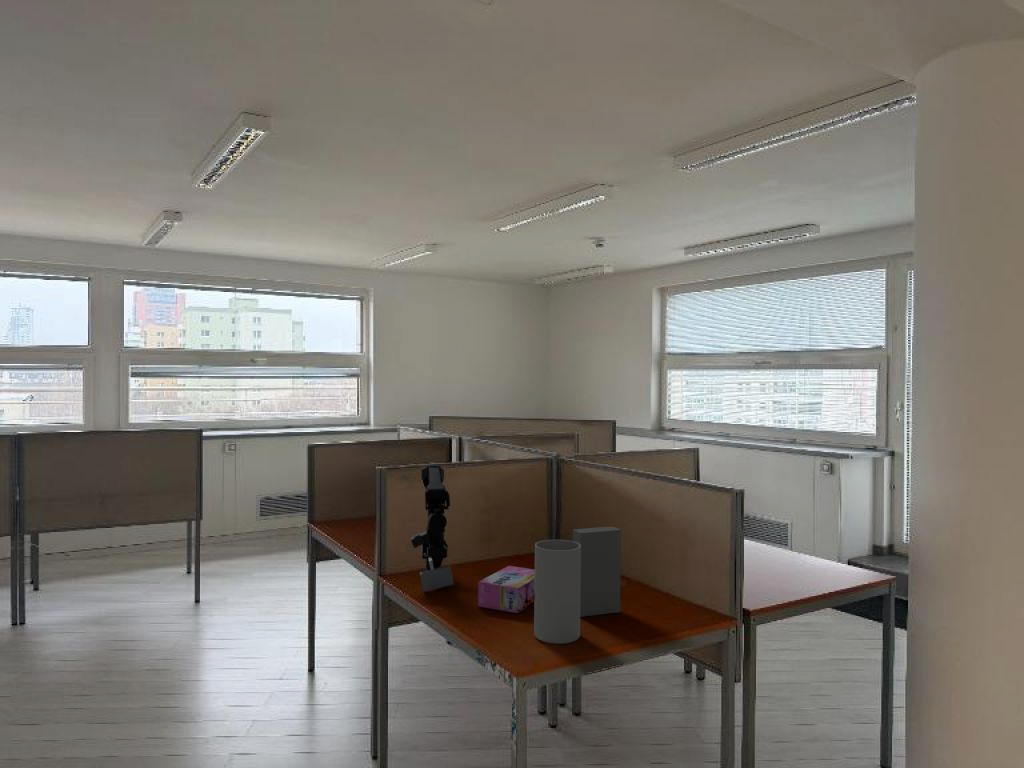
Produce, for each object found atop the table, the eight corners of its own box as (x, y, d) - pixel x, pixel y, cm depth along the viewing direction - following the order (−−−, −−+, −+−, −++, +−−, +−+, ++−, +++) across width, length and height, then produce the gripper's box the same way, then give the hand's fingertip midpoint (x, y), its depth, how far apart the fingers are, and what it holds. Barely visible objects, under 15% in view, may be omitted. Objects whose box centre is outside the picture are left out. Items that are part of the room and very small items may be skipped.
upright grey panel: (610, 606, 220) (611, 525, 220) (620, 612, 214) (621, 529, 214) (570, 611, 215) (571, 528, 215) (579, 618, 209) (580, 533, 209)
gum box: (510, 563, 239) (547, 569, 234) (509, 587, 239) (547, 593, 234) (477, 581, 217) (518, 587, 212) (477, 607, 217) (518, 614, 212)
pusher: (422, 579, 242) (418, 560, 241) (451, 571, 244) (447, 552, 242) (423, 591, 232) (419, 572, 231) (453, 584, 234) (449, 564, 232)
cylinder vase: (577, 628, 201) (577, 539, 201) (582, 645, 188) (583, 550, 188) (532, 628, 200) (533, 539, 200) (535, 645, 188) (536, 550, 188)
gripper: (411, 519, 249) (410, 564, 249) (412, 531, 230) (412, 579, 230) (443, 518, 250) (442, 563, 251) (447, 530, 232) (446, 578, 232)
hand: (435, 570), depth 241 cm, fingers closed on pusher, 3 cm apart
